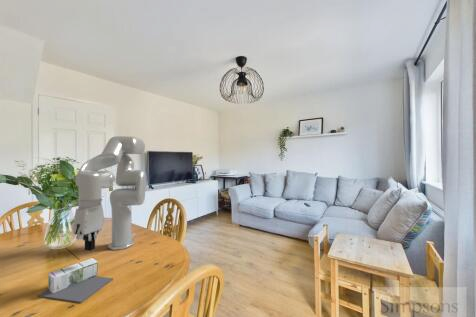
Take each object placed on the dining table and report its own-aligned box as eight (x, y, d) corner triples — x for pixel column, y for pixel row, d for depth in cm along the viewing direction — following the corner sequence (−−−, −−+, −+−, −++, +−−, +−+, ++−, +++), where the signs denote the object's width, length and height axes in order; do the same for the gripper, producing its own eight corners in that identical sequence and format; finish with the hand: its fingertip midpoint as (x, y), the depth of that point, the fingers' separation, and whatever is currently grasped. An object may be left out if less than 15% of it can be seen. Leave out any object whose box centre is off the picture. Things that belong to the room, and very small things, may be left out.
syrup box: (92, 257, 89) (47, 272, 77) (98, 261, 85) (52, 278, 74) (92, 270, 89) (47, 288, 77) (98, 275, 86) (52, 294, 74)
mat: (75, 274, 87) (75, 273, 87) (113, 279, 84) (113, 278, 84) (37, 296, 73) (37, 295, 73) (81, 303, 70) (81, 301, 70)
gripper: (97, 199, 91) (97, 241, 91) (63, 207, 77) (63, 257, 77) (112, 200, 90) (112, 242, 90) (80, 208, 75) (80, 259, 75)
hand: (89, 249), depth 83 cm, fingers closed
